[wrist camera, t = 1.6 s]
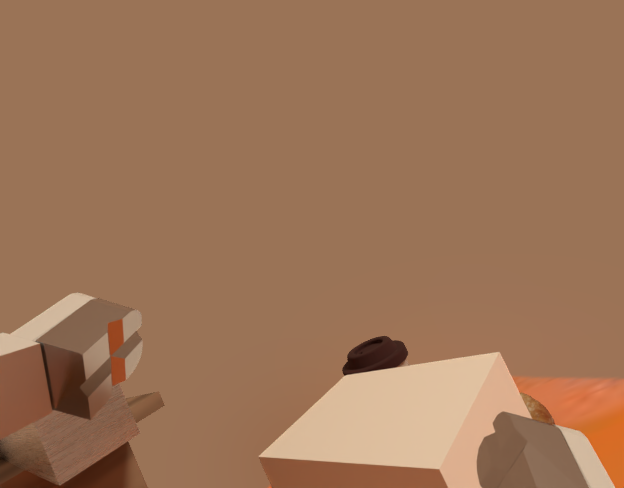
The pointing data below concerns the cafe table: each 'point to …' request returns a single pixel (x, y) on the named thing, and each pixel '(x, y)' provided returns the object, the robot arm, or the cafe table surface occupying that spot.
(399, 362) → the coffee cup
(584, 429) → the cafe table surface
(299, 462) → the cream tilted cube
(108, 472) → the walnut stand
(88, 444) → the brushed metal block
